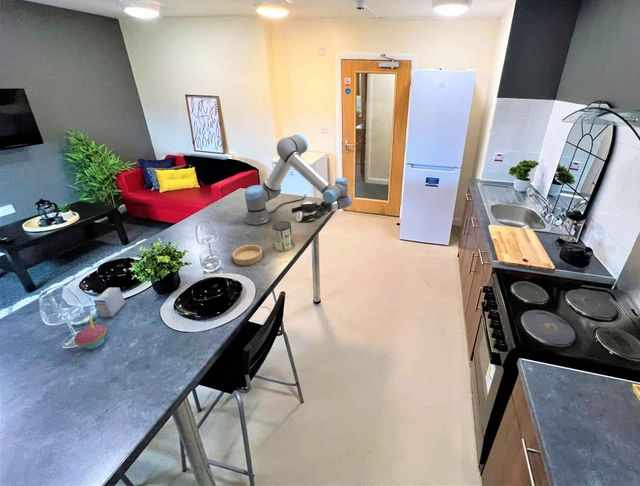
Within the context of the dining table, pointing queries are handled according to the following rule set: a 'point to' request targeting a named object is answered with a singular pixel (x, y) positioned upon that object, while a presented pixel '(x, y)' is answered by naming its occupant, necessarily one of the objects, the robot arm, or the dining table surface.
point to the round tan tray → (247, 254)
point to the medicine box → (109, 302)
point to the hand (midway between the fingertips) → (297, 214)
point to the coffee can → (282, 235)
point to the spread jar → (305, 213)
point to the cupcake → (91, 335)
